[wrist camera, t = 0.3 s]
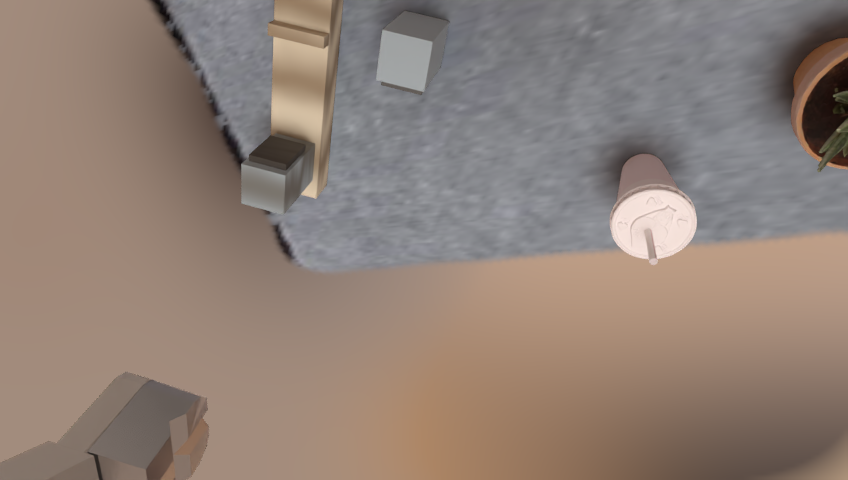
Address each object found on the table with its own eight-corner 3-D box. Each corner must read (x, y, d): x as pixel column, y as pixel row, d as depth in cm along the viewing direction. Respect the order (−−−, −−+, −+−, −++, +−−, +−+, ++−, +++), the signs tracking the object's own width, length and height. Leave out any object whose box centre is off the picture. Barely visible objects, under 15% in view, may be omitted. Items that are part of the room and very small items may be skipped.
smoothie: (591, 178, 56) (593, 261, 44) (639, 125, 52) (655, 200, 41) (645, 215, 57) (662, 306, 45) (697, 165, 53) (728, 251, 42)
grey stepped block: (404, 10, 52) (382, 29, 46) (449, 21, 51) (432, 41, 46) (396, 62, 54) (374, 87, 48) (439, 73, 54) (422, 99, 48)
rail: (291, -80, 50) (234, -68, 42) (349, -68, 49) (302, -52, 41) (281, 173, 63) (236, 220, 55) (326, 185, 63) (287, 234, 55)
